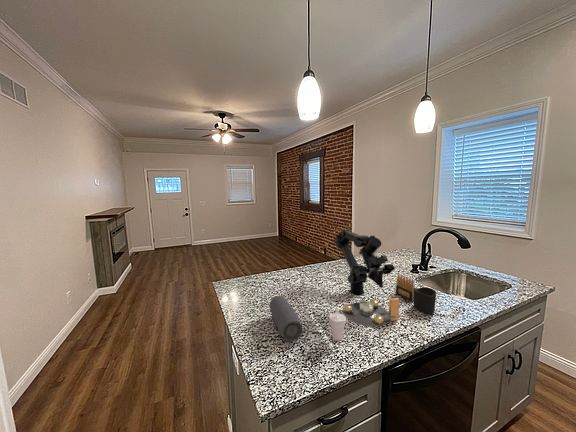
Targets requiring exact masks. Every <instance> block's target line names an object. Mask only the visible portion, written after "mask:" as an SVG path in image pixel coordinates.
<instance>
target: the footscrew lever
mask: <svg viewBox="0 0 576 432" xmlns="http://www.w3.org/2000/svg"><path fill="white" fill-rule="evenodd" d="M388 300H389V301H388V302H389V303H388V312H389V315H384V316H381V315H374V317H373V322H374V324H376V325H382V326H384V325H383V320H387V319H389V322H394V321H398V320H399V312H400V298H399V297H394V298H389V299H388Z"/></svg>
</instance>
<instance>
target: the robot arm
mask: <svg viewBox="0 0 576 432" xmlns="http://www.w3.org/2000/svg"><path fill="white" fill-rule="evenodd" d="M333 241H334V244H335V246H336V248H338V249H339V250H341V252H342V255H343V257H344V259H345V261H346V263H347V264H348V267H349V268H350V270H349V275H348V276H347V281H348V283H350V287H349V288H350V290H348V293H349V294H353V295H355V296H360V295H363V294H365V291H364V283H366V282H367V279H368V278H369V279H370V280H372V282H374V283H375V284H376V285H377V286H378V287H379V288H381V289H382V288H383V287H384V281H383V277H384V276H383V275H388V274H392V272H393V271H394V270H395V269H396V268H395V266H394V264H392V263H389V264H388V263H387V264H386V262H388V257H387V254H382V255H380V256H377V255H375V253H376V252H377V251H378V250H379V249H380V247H381V246H382V241H381V240H380V239H379V238H378V237H376V236H375V235H370V236H368V235H365V234H364V235H362V234H361V235H359V234H357V233H355V232H353V231H351V230H349V229H343V230H342V231H340V232H339V233H338V234H337V235H336V236H335V237H334V238H333ZM350 241H351V242H353V245H354V246H356V248H360V250H359V252H358V253H359V255H361V256H362V258H363V264H360V265H359V264H358V261H357V260H356V258H355V255H354V254H353V251H352V250H351V248H350V246H349V245H350ZM382 264H383V265H382ZM364 265H365V266H364Z"/></svg>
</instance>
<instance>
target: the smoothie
mask: <svg viewBox="0 0 576 432" xmlns="http://www.w3.org/2000/svg"><path fill="white" fill-rule="evenodd" d="M329 321H330V330H331V338H332V339H333V340H334V341H336V342H339V341H342V340H343V337H344V333H345V325H346V322H347V318H346V317H345V315H344V313H340V312H338V306H337V305H335V313H334V312H333V313H331V314H330V315H329Z"/></svg>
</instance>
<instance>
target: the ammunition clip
mask: <svg viewBox="0 0 576 432" xmlns="http://www.w3.org/2000/svg"><path fill="white" fill-rule="evenodd" d="M414 288H415V280H414V279H413V278H411V277H408V276H405V275H404V274H400V272H398V273H397V278H396V285H395V294H396V295H397V296H399V297H402V298H403V299H406V300H407V301H409V302H414Z"/></svg>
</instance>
